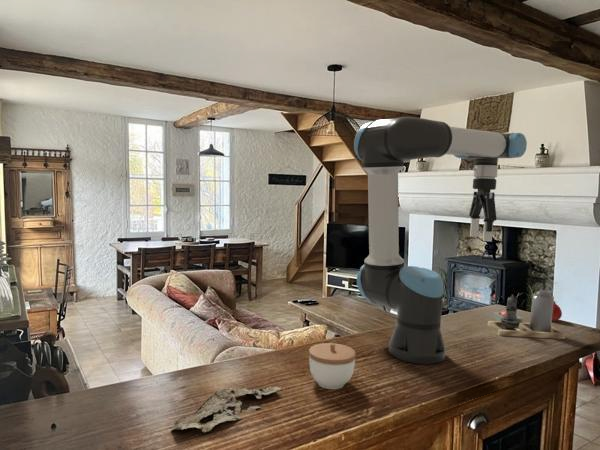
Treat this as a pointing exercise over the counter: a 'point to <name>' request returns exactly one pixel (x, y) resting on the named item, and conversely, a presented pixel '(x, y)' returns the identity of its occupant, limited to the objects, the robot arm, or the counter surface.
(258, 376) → the counter surface
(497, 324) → the tray
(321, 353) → the lidded jar
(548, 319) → the pepper pot
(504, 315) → the button
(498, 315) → the grey-green square box
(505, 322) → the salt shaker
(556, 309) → the onion
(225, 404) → the driftwood
